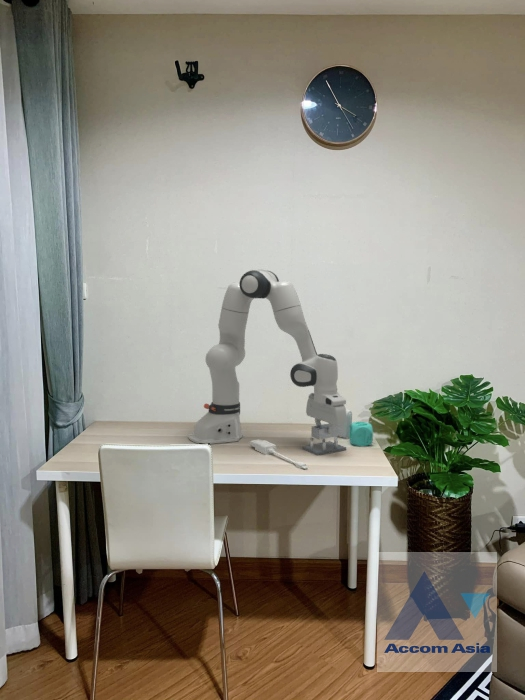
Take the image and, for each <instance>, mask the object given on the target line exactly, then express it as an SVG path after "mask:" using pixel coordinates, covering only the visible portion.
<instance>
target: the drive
mask: <svg viewBox="0 0 525 700" xmlns="http://www.w3.org/2000/svg"><path fill="white" fill-rule="evenodd" d="M329 427H330V426H329V423H326V424H325V423H324V424H321V425H318V426H317V425H313V426H311V437H310V438H313V439H317V440H322V439H325V440H327V439H331V438H334V437H337V438H338V437H339V436H338V426H336V425H335V427H334V429H333V434H328V433H327V429H329Z"/></svg>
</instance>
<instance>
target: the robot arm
mask: <svg viewBox="0 0 525 700" xmlns="http://www.w3.org/2000/svg"><path fill="white" fill-rule="evenodd" d="M239 279H240V280H239V281H235V282H232V283H230V284H229V285H228V286H227V289H226V291H225V294H224V297H223V299H222V300H223V301H222V305H221V309H220V313H219V319H218V324H217V325H218V330H219V342H218V344H216V345H214V346H211V348H210V349H209V350H208V351H207V353H206V355H205V363H206V364H205V365H206V366H207V367H208V369H209V374H210V378H211V379H210V380H211V388H212V391H211V392H212V393H211V395H212V397H211V398H212V402H211V403H210V404H209V403H204V405H203V409H206V410H208V411H207V412H206V413H205V414H204V415H203V416H202V417H201V418H200V419H199V420H198V421H196V422H195V424H194V429H193V433H189V434H188V439H189V440H190V441H191V442H193V443H196V444H199V443H205V444H204V445H210V444H211V445H213V444H223V443H225V444H226V443H234V442H239V441H240V439H242V438H243V437H244V436H243V435H244V434H243V431H242V427H241V419H240V414H241V402H240V382H239V381H238V377H237V372H236V368H237V367H238V366H240V365H241V363H243V361H244V359H245V357H246V349H245V344H246V343H245V342H246V341H245V340H246V339H245V337H246V329H247V323H248V318H249V312H250V307H251V304H252V301H253V300H254V299H266V300H268V301H269V303H270V305H271V309H272V313H273V317H274V319H275V322H276V324H277V327H278V328H279V329H280V330H281V331H282V332H284V333H286V334H288V335H290V336H291V337H292V338H293V339H294V340H295V342H296V345H297V348H298V350H299V354H300V357H301V361H300V362H298V363H296V364H295V365H293V366H292V367H291V369H290V374H289V376H290V379H291V381H292V383H293V384H294V386H296V387H299V388H301V387H302V388H306V387H313V392H311V393H310V394H308V399H307V402H306V410H305V413H306V416H308V417H310V418H314V423H315V426H318V425H322V422H326V423H327V424H329V426H330V427H329V429H327V433H328V434H333V429H334V427H335V425H336V426H340V425H344V424H345V421H346V409H347V408H346V406H345V405H347V399H346V398H345V397H344V396H342V395H341V394H340V393H339V392H338V385H337V383H338V377H339V375H338V374H339V372H338V371H339V370H338V369H339V368H338V362H337V359H336V357H334V356H333V355H330V354H326V353H319V354H318V353H317V350H316V347H315V344H314V341H313V338H312V335H311V331H310V329H309V327H308V325H307V321H306V320H305V319H306V318H305V316H304V312H303V308H302V305H301V301H300V298H299V295H298V293H297V290H296V288H295V286H294V285H293V283H292V282H291V281H288V280H280V279H279V278H278V276H277V274H275V273H274V272H273V271H271V270H264V269H257V270H256V269H254V270H253V269H251V270H249V271H246V272H245V273H244V274H242V276H241V277H240V278H239ZM321 421H322V422H321ZM208 443H210V444H208Z"/></svg>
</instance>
